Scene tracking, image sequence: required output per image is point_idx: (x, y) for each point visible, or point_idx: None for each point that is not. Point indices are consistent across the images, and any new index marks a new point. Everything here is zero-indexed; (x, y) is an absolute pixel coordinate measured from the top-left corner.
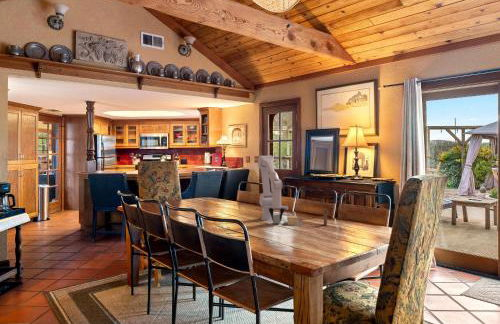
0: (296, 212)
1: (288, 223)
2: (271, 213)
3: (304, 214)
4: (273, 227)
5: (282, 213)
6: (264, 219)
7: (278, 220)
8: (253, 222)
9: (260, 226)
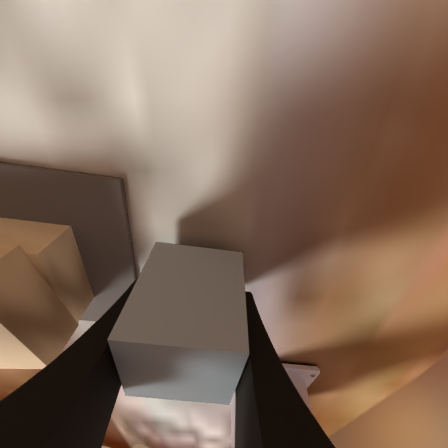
0: (125, 442)
1: (47, 233)
2: (282, 407)
3: None
4: (244, 75)
5: (19, 393)
6: (294, 371)
7: (164, 270)
8: (406, 321)
9: (428, 152)
